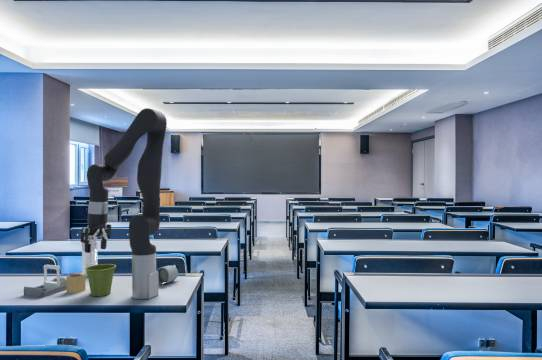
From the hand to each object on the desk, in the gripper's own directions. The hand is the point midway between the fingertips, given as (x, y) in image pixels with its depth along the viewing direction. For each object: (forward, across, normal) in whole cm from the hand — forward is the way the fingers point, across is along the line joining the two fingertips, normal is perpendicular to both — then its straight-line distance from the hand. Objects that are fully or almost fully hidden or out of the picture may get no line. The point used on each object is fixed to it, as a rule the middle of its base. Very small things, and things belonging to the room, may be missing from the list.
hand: (95, 250), depth 155 cm
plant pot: (+17, -1, -5) cm, 18 cm away
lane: (+19, -5, +18) cm, 26 cm away
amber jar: (+18, -2, +7) cm, 20 cm away
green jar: (+18, -1, +18) cm, 25 cm away
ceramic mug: (+16, +22, -20) cm, 34 cm away
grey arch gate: (+18, -4, +18) cm, 26 cm away
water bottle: (+19, +20, +21) cm, 35 cm away
